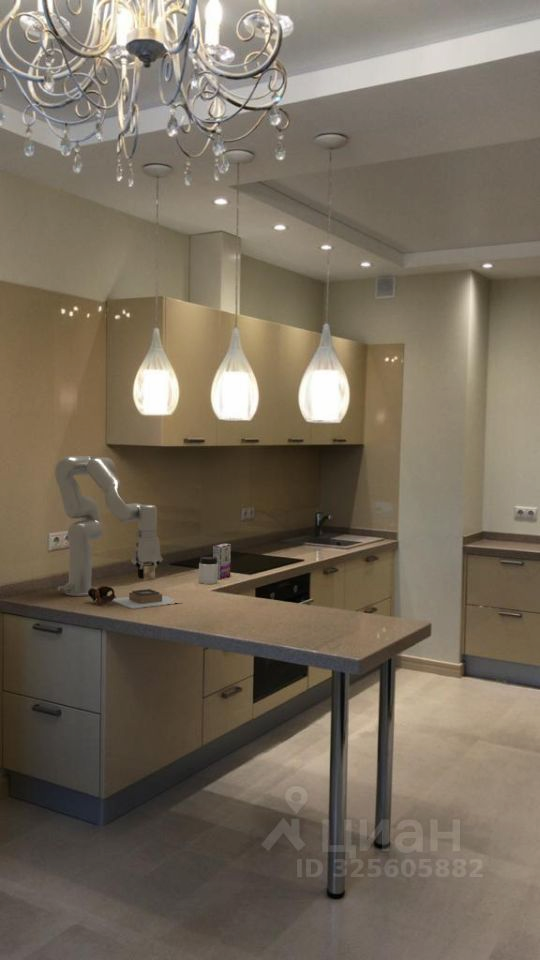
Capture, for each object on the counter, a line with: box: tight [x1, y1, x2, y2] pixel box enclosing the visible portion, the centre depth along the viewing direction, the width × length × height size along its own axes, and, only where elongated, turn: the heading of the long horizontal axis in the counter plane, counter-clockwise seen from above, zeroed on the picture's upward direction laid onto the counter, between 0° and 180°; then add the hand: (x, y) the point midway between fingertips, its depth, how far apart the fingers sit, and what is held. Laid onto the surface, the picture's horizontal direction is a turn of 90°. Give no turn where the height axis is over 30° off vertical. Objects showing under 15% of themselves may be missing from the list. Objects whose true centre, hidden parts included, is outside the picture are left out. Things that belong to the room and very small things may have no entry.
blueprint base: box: [111, 588, 176, 610], centre depth 352 cm, size 24×20×4 cm
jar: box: [198, 556, 218, 585], centre depth 403 cm, size 9×8×12 cm
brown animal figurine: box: [88, 585, 117, 606], centre depth 346 cm, size 12×10×8 cm
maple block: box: [138, 563, 156, 582], centre depth 352 cm, size 5×5×6 cm
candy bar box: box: [212, 543, 232, 580], centre depth 419 cm, size 11×5×16 cm, turn 156°
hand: (146, 577), depth 352 cm, fingers closed on maple block, 5 cm apart
